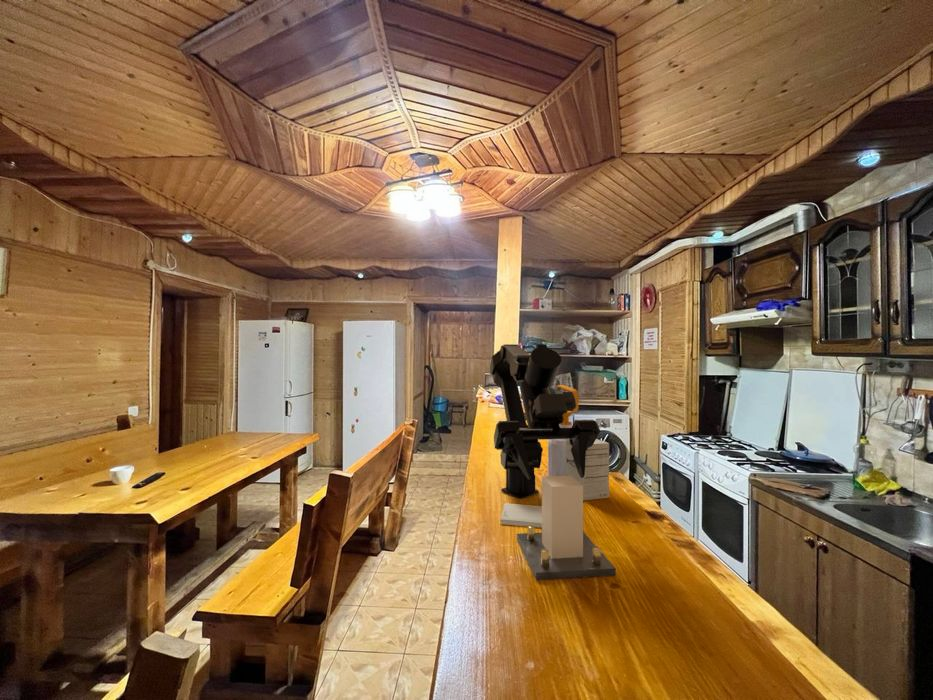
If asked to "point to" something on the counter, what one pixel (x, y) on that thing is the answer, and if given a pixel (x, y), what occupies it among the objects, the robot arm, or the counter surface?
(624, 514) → the counter surface
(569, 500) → the cream block
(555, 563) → the chassis plate
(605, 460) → the supplement box
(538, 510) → the hard drive
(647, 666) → the counter surface
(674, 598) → the counter surface
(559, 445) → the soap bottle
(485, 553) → the counter surface
